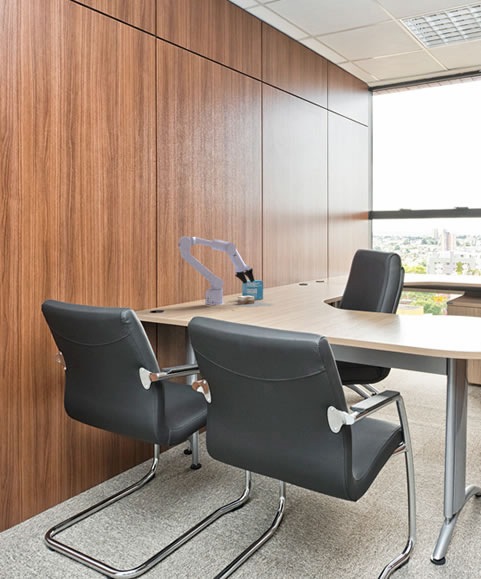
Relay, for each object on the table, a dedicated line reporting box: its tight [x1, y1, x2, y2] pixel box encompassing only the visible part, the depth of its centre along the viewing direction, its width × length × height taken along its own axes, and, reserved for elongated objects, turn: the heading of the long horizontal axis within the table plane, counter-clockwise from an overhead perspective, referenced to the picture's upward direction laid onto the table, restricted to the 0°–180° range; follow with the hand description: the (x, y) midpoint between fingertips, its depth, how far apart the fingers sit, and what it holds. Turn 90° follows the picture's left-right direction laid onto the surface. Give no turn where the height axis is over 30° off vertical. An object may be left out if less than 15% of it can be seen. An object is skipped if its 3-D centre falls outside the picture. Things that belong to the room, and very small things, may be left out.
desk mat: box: [233, 301, 274, 308], centre depth 307 cm, size 18×17×1 cm
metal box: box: [237, 295, 255, 304], centre depth 310 cm, size 8×5×4 cm, turn 125°
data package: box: [241, 279, 264, 301], centre depth 328 cm, size 12×4×12 cm, turn 120°
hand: (249, 282), depth 313 cm, fingers open, 7 cm apart
